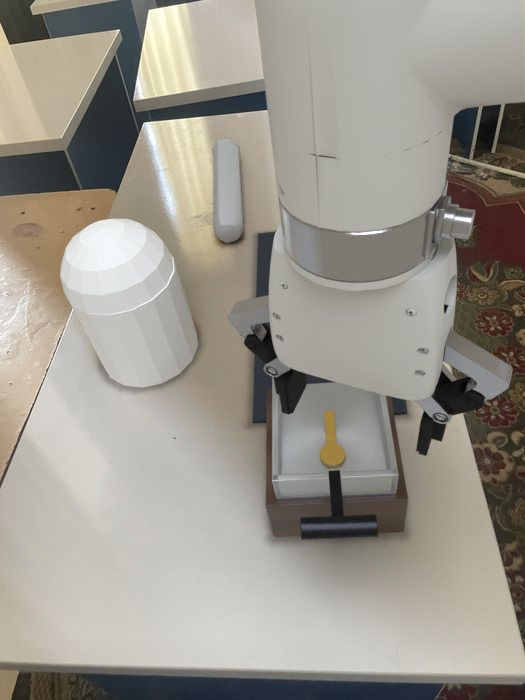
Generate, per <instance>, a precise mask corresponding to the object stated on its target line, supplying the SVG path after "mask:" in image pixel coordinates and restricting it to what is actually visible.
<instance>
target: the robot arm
mask: <svg viewBox="0 0 525 700" xmlns="http://www.w3.org/2000/svg"><path fill="white" fill-rule="evenodd" d="M254 10H255V16H256V17H255V18H256V24H257V25H256V26H257V32H258V33H257V34H258V41H259V50H260V57H261V66H262V68H261V69H262V75H263V83H264V91H265V99H266V109H267V115H268V125H269V133H270V134H269V135H270V141H271V150H272V158H273V167H274V174H275V175H274V176H275V183H276V191H277V199H278V207H279V208H278V209H279V216H280V222H279V225H278V227H277V229H276V231H275V232H276V233H275V236H274V241H273V247H272V254H271V263H270V276H269V295H267V296H262V297H257V298H256V297H253V298H249V299H243V300H238V301H236V302H235V303H234V305H233V306H232V308H231V309H230V311H229V312H228V314H227V316H226V318H227V321H229V323H230V324H231V326H233V328H234V329H235V331H236V332H237V334H239V336H240V337H243V338H244V340H243V344H244V346H245V348H246V349H248V350H249V351H250V352H251V353H253V355H254V356H255V355H256V356H257V357H258V358H260V359H261V360H262V361H263V362H264V363H265V366H264V371H265V372H266V373H267V374H268V375H270V376H272V377H273V378H274V383H275V389H276V394H278V395H279V397H280V403H281V409H282V413H285V414H288V415H290V414H293V412H294V410H295V408H296V406H297V404H298V402H299V400H300V398H301V396H302V394H303V392H304V390H305V388H306V385H307V379H306V374H309V375H313V376H316V377H320V378H323V379H327V380H330V381H334V382H338V383H341V384H345V385H349V386H352V387H356V388H360V389H364V390H367V391H371V392H375V393H379V394H383V395H387V396H391V397H395V398H399V399H405V401H415V403H416V404H417V405H418V406H419V407H420V408H421V409H422V410H423V412H422V415H421V419H420V422H419V427H418V428H419V429H418V434H417V442H416V450H415V451H416V452H418V455H421V456H424V457H427V456H428V453H429V449H430V446H431V442H432V440H434V441H437V442H441V443H442V442H443V439H444V435H445V431H446V428H447V425H448V424H449V423H451V421H452V417H453V416H456V415H460V414H464V413H469V412H472V411H476V410H480V409H482V408H483V407H484V404H485V403H486V402H487V401H488V400H489V401H491V400H492V399H494V398H496V397H497V396H499V395H501V394H502V393H504V392H505V391H507V390H508V389H509V388H510V384H511V379H512V375H513V371H514V368H513V367H512V366H511V365H510V364H509V363H507V362H506V361H504V360H503V359H501V358H499V357H497V356H496V355H494V354H492V353H491V352H489V351H487V350H486V349H484V348H482V347H481V346H479V345H478V344H476V343H474V342H473V341H472V340H469V339H468V338H465V337H464V336H463V335H461V334H459V333H458V332H456V331H454V323H455V315H456V305H457V291H458V263H457V261H458V260H457V250H456V249H457V248H456V242H455V239H460V240H466V241H468V240H469V239H470V236H471V233H472V229H473V225H474V220H475V216H476V209H472V208H467V207H460V204H458V203H452V196H451V195H447V194H448V187H449V179H447V172H448V164H449V158H450V157H449V156H450V150H451V142H452V141H451V140H452V136H453V135H452V134H453V127H454V120H455V119H454V118H455V116H456V115H457V114H458V113H459V112H461V111H463V110H466V109H470V108H480V107H482V108H483V107H488V106H499V105H507V104H519V103H520V104H521V103H525V0H254ZM268 322H270V328H269V327H268V326H267V325H266V324H264V323H268ZM444 363H445V364H447V365H449V367H452V368H453V369H456V370H457V371H458V372H460V373H462V374H464V375H465V377H462V378H459V379H457V377H456V376H454V374H453V373H452V372H451V371H450V369H448V367H447V366H446V365H445V364H444Z"/></svg>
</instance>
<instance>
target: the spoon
mask: <svg viewBox="0 0 525 700" xmlns="http://www.w3.org/2000/svg"><path fill="white" fill-rule="evenodd" d="M324 416H325V430H326V444H327V445H325V446H324V447H323V448H322V449H321V451H320V459H321V461H322V463H323V464H324V465H326V466H328V467H332V468H334V467H338V466H340V465H341V464H342V463H343V462H344V460H345V451H344V449H343V448H342V447H341V446H340V445H338V444H337V439H336V427H335V415H334V411H324Z"/></svg>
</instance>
